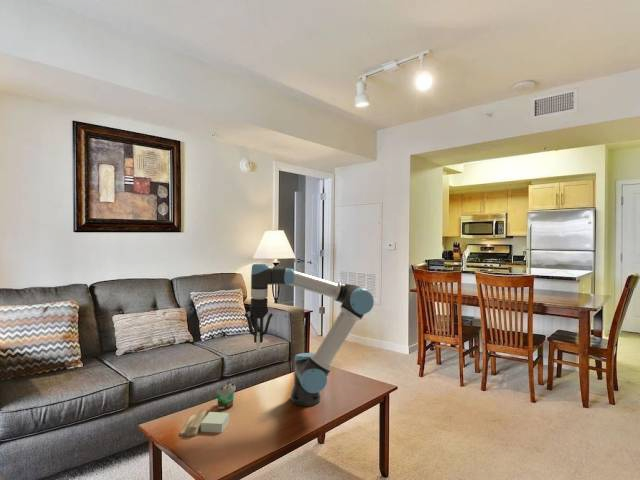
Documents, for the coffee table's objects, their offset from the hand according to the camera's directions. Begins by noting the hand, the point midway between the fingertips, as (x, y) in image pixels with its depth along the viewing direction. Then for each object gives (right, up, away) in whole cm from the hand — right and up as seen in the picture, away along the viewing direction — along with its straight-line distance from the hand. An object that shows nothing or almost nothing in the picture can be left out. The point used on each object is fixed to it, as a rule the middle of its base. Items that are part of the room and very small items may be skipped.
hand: (258, 349), depth 174 cm
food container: (-16, -30, +10) cm, 36 cm away
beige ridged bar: (-26, -30, -10) cm, 41 cm away
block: (-17, -31, -10) cm, 36 cm away
